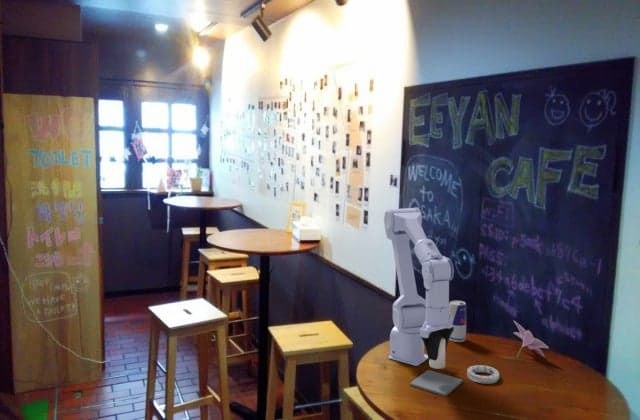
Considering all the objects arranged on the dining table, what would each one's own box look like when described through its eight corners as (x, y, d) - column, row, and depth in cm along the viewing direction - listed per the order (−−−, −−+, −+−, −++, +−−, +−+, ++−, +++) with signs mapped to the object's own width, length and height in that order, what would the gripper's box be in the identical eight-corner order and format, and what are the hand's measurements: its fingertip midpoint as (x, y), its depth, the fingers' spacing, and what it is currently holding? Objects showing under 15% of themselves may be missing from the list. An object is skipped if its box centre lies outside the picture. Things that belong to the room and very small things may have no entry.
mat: (409, 385, 135) (409, 383, 135) (428, 371, 143) (428, 369, 143) (445, 396, 129) (445, 394, 129) (462, 381, 137) (462, 379, 137)
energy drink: (466, 343, 163) (467, 305, 162) (448, 342, 164) (449, 305, 163) (465, 336, 168) (465, 300, 167) (448, 335, 169) (448, 299, 168)
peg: (426, 366, 135) (426, 340, 134) (433, 361, 138) (433, 335, 137) (441, 370, 133) (441, 343, 132) (447, 364, 136) (447, 338, 135)
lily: (548, 370, 145) (560, 338, 147) (508, 352, 146) (519, 320, 148) (533, 366, 157) (544, 336, 158) (495, 349, 158) (506, 319, 160)
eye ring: (462, 378, 139) (462, 372, 139) (474, 368, 145) (474, 362, 145) (491, 386, 134) (491, 380, 134) (503, 375, 140) (503, 370, 140)
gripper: (438, 315, 125) (438, 369, 127) (464, 301, 137) (463, 351, 138) (412, 310, 130) (412, 362, 132) (439, 296, 141) (438, 345, 143)
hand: (436, 356), depth 135 cm, fingers closed on peg, 4 cm apart
